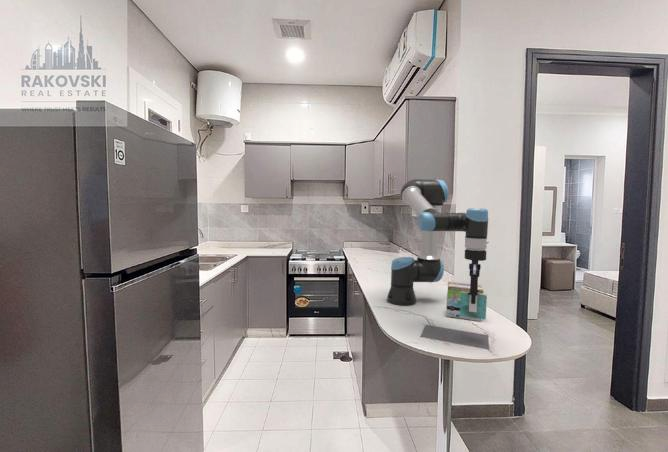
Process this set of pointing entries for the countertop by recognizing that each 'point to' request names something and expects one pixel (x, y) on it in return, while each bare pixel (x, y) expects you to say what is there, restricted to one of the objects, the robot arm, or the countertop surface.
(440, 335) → the mat
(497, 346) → the countertop surface
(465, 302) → the tile
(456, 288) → the tea box
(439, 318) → the countertop surface
